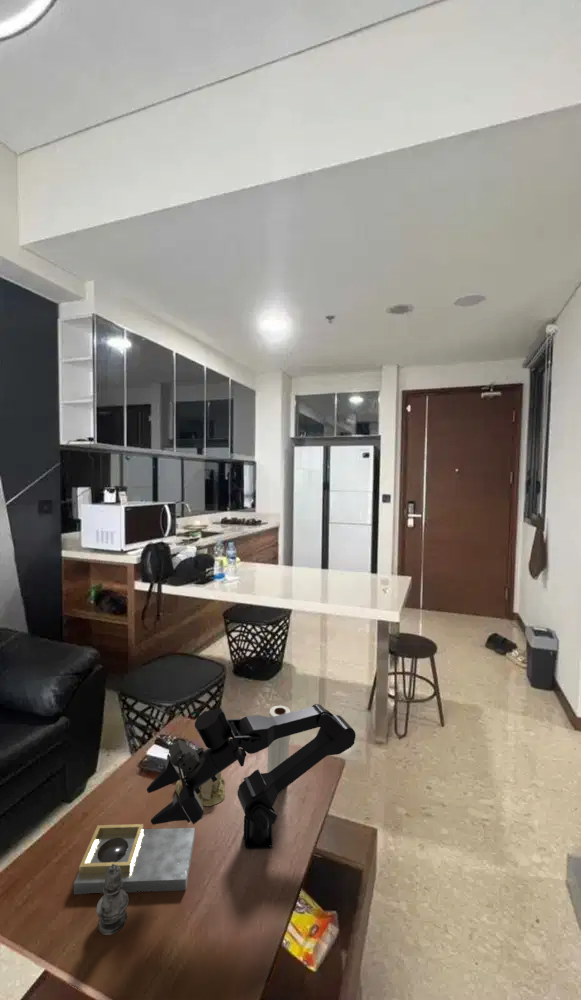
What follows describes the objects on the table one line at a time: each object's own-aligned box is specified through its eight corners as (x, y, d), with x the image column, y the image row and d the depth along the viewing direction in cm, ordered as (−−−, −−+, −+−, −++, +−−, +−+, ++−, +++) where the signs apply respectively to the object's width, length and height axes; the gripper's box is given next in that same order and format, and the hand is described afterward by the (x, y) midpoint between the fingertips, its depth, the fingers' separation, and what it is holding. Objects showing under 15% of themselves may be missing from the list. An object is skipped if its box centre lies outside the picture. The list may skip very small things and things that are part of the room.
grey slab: (194, 837, 104) (195, 822, 104) (185, 890, 91) (186, 872, 91) (97, 840, 102) (97, 824, 102) (73, 894, 89) (73, 876, 89)
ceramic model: (230, 778, 124) (231, 745, 123) (221, 809, 113) (222, 773, 112) (183, 773, 125) (183, 741, 125) (169, 803, 114) (170, 768, 113)
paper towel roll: (275, 771, 128) (278, 702, 126) (292, 780, 124) (294, 709, 122) (260, 785, 122) (262, 713, 120) (276, 795, 118) (279, 721, 117)
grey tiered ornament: (117, 940, 81) (117, 881, 80) (89, 932, 82) (89, 874, 81) (134, 909, 87) (135, 853, 86) (108, 902, 88) (108, 847, 87)
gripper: (190, 711, 105) (129, 751, 100) (207, 760, 88) (134, 811, 83) (210, 745, 108) (151, 786, 102) (230, 799, 90) (160, 851, 85)
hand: (149, 806), depth 93 cm, fingers open, 9 cm apart
